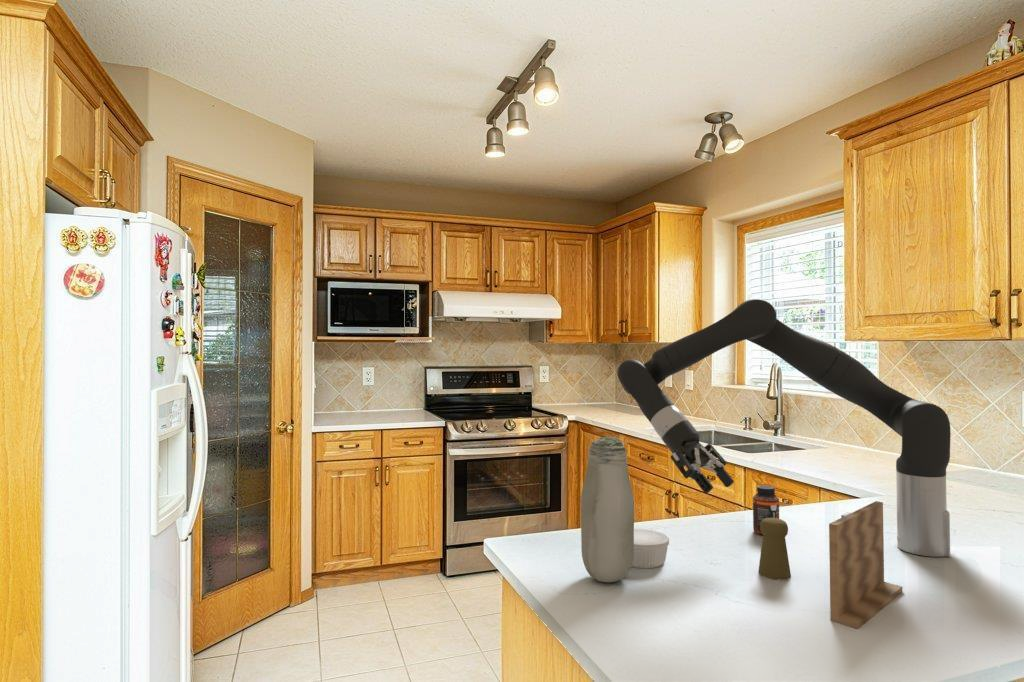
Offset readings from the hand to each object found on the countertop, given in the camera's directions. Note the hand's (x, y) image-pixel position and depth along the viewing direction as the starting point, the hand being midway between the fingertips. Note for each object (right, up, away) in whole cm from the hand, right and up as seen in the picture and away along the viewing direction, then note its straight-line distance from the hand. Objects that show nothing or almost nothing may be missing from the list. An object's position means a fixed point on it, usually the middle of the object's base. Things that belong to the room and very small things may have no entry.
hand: (720, 487), depth 128 cm
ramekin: (-17, -16, -1) cm, 23 cm away
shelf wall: (+18, -15, -24) cm, 33 cm away
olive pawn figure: (+8, -15, -9) cm, 19 cm away
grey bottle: (-26, -15, -11) cm, 32 cm away
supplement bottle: (+17, -16, +17) cm, 29 cm away
